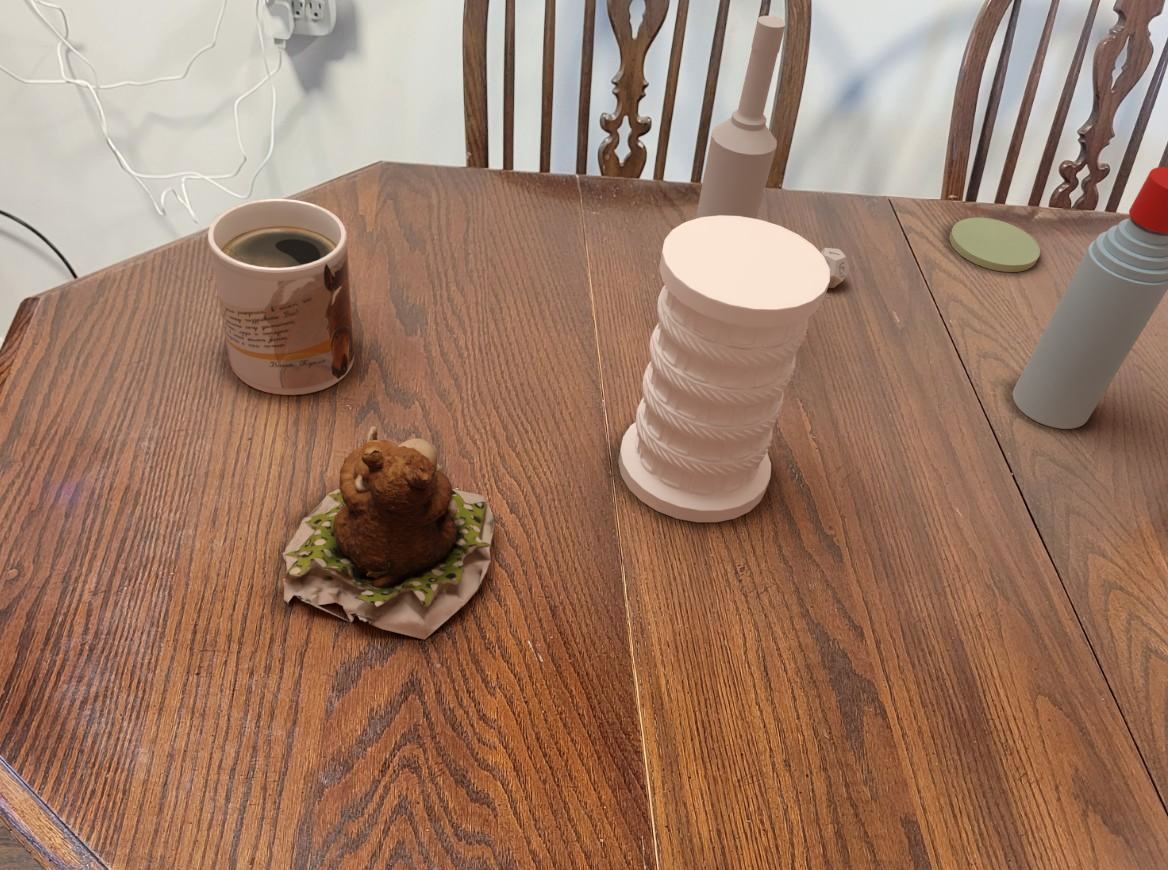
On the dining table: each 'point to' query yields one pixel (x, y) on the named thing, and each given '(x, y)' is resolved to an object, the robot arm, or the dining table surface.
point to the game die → (836, 265)
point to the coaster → (994, 244)
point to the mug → (284, 294)
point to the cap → (1152, 202)
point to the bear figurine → (392, 541)
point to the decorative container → (720, 364)
